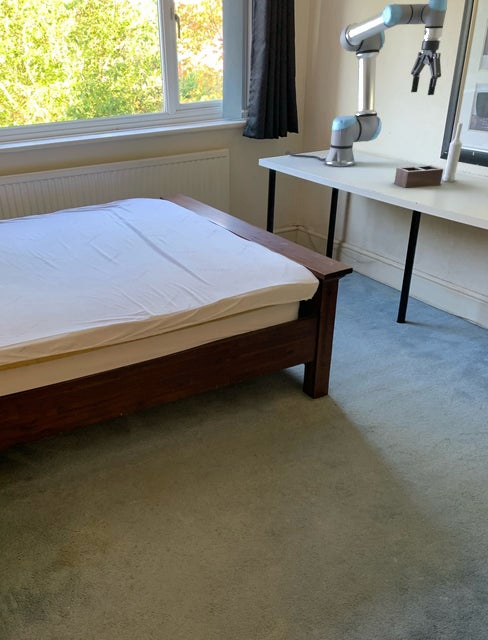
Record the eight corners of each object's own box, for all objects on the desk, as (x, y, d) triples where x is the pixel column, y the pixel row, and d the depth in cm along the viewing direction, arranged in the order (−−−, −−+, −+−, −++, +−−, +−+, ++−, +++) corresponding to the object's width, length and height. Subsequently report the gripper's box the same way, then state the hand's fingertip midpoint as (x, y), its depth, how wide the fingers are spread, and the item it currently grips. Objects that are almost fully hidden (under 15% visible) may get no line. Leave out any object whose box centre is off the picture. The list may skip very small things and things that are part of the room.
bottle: (448, 182, 279) (460, 124, 265) (440, 180, 283) (451, 123, 269) (456, 180, 281) (469, 123, 267) (448, 178, 285) (460, 122, 271)
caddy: (394, 183, 279) (396, 167, 275) (428, 180, 282) (431, 165, 279) (405, 187, 271) (408, 171, 267) (440, 184, 274) (443, 169, 271)
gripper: (408, 39, 270) (400, 91, 281) (440, 40, 249) (430, 96, 261) (423, 39, 271) (414, 90, 283) (456, 40, 251) (445, 95, 262)
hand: (422, 93), depth 272 cm, fingers open, 13 cm apart
